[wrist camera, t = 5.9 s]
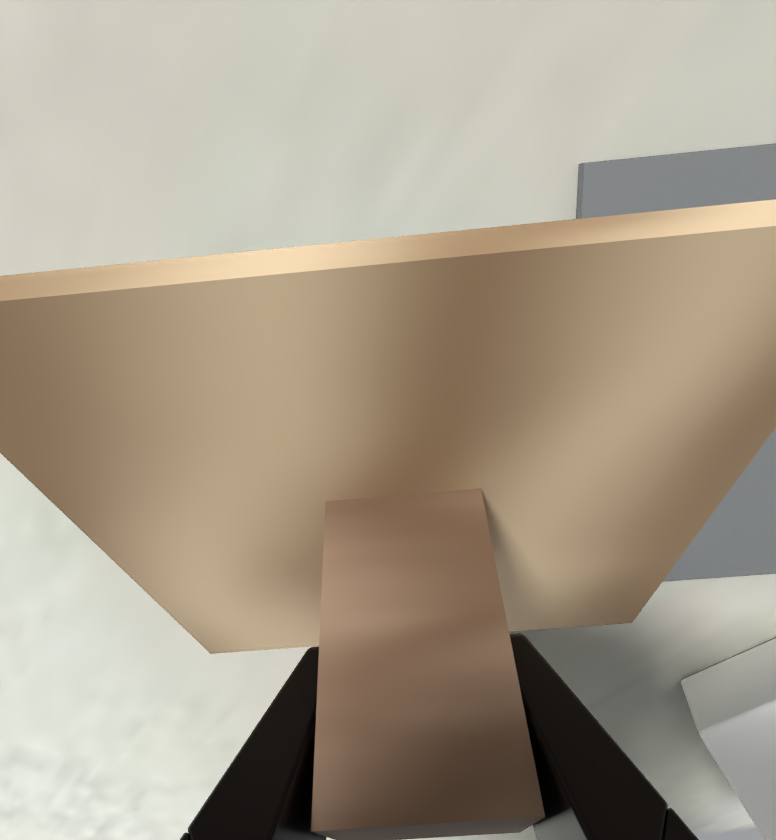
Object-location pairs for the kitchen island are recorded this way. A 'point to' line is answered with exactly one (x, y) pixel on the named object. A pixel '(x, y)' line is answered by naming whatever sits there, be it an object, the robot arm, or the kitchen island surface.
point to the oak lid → (404, 463)
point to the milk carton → (741, 727)
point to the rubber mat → (772, 465)
